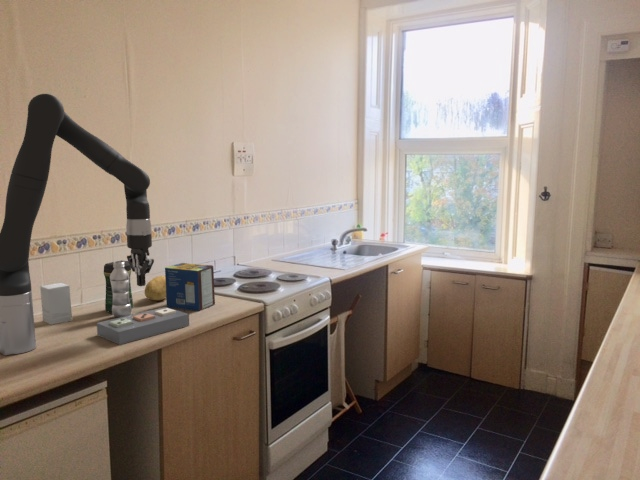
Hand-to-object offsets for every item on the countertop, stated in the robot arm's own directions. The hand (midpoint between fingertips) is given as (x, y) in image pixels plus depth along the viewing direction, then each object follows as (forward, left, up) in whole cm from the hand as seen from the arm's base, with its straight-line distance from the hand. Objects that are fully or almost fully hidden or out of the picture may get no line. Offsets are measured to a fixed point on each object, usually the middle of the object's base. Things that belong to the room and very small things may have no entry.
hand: (141, 285), depth 170 cm
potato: (+25, +32, -15) cm, 43 cm away
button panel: (0, 0, -15) cm, 15 cm away
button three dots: (0, 0, -15) cm, 15 cm away
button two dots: (-8, 0, -15) cm, 17 cm away
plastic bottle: (+3, +20, -15) cm, 25 cm away
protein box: (+28, +14, -15) cm, 35 cm away
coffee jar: (+7, +29, -15) cm, 33 cm away
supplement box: (-14, +33, -15) cm, 39 cm away
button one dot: (+8, 0, -15) cm, 17 cm away
